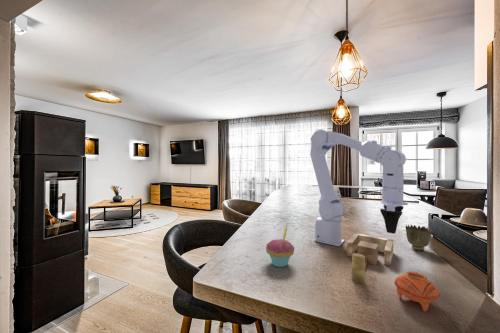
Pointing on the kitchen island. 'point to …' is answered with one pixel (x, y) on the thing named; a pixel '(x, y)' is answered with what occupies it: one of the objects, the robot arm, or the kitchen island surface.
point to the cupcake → (280, 251)
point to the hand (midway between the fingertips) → (391, 229)
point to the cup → (418, 237)
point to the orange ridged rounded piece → (417, 289)
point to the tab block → (363, 260)
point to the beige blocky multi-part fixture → (383, 243)
